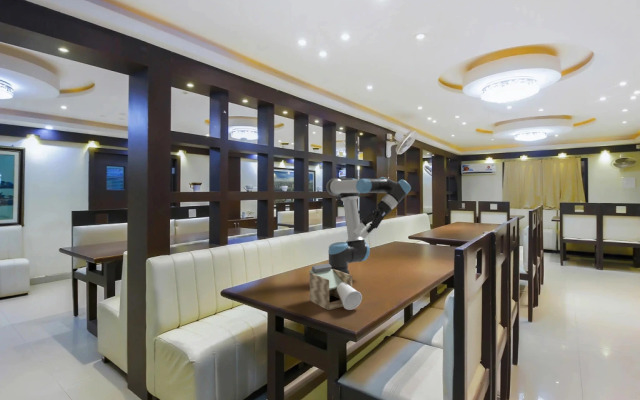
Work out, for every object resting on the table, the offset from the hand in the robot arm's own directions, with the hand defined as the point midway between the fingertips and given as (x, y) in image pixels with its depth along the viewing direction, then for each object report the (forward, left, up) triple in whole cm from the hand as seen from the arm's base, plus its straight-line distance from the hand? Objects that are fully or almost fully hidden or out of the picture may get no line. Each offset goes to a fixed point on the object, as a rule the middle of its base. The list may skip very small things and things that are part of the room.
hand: (358, 235), depth 161 cm
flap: (-7, -15, -22) cm, 27 cm away
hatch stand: (-4, -15, -33) cm, 36 cm away
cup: (+1, -11, -25) cm, 27 cm away
